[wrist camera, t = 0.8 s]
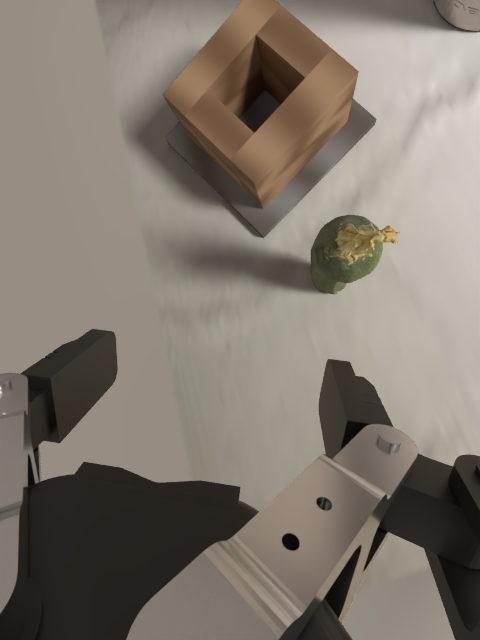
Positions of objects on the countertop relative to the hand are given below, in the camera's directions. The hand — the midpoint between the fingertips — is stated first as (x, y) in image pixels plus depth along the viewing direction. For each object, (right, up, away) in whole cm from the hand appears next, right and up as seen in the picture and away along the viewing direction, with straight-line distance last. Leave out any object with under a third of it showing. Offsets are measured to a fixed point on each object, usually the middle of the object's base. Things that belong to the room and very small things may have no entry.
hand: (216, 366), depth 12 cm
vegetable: (+10, +6, +23) cm, 26 cm away
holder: (+4, +22, +24) cm, 33 cm away
